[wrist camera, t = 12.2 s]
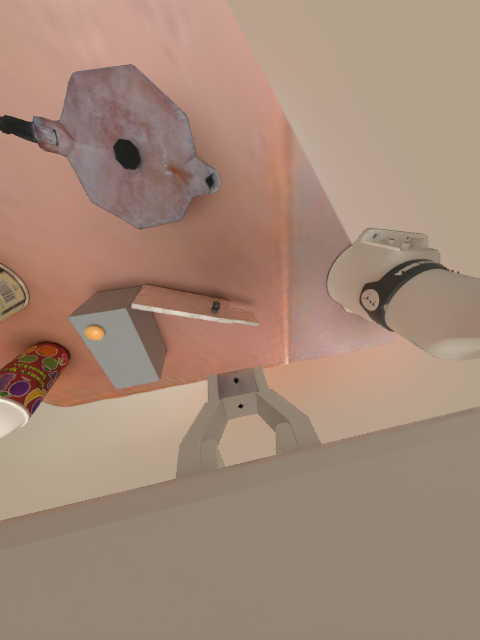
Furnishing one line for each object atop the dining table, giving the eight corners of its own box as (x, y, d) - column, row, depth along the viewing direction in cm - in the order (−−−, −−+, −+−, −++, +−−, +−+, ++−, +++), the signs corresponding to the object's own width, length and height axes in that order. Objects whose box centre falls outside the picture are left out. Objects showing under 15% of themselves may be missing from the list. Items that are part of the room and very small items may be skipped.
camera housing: (141, 285, 36) (123, 310, 28) (168, 354, 45) (161, 388, 37) (96, 292, 35) (64, 320, 27) (132, 360, 44) (117, 396, 36)
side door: (145, 279, 35) (131, 297, 28) (251, 300, 41) (262, 319, 34) (144, 288, 36) (131, 308, 29) (249, 307, 42) (258, 328, 35)
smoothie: (79, 344, 40) (-8, 448, 23) (72, 371, 43) (-9, 480, 26) (28, 331, 36) (-118, 441, 20) (24, 361, 40) (-104, 479, 23)
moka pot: (209, 222, 32) (220, 244, 16) (107, 208, 29) (-21, 218, 12) (213, 148, 28) (234, 66, 11) (90, 121, 24) (-156, -59, 7)
